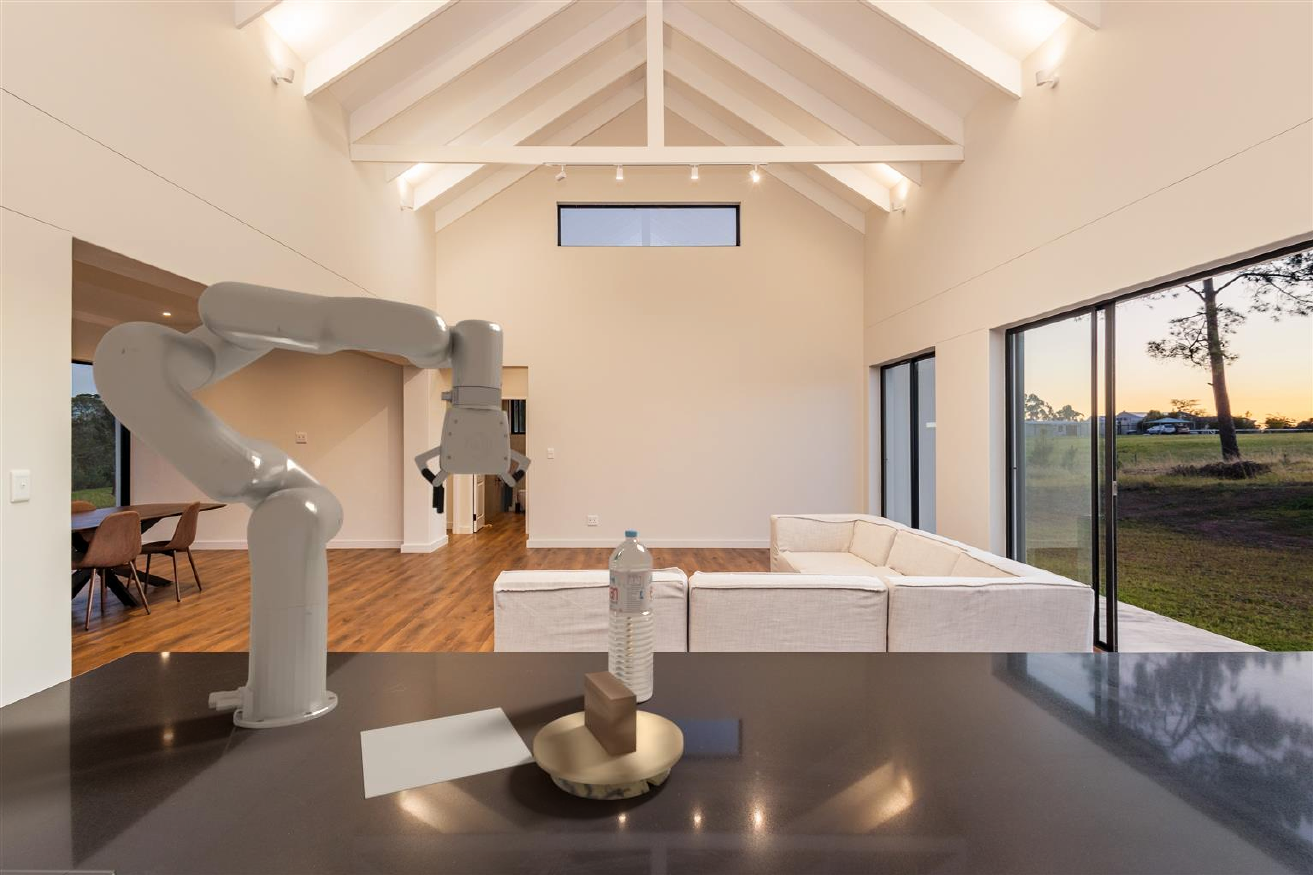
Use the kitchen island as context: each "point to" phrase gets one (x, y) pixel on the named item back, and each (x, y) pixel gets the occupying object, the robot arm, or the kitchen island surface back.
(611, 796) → the decorative bowl
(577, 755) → the lid
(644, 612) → the water bottle
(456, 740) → the mat
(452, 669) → the kitchen island surface
